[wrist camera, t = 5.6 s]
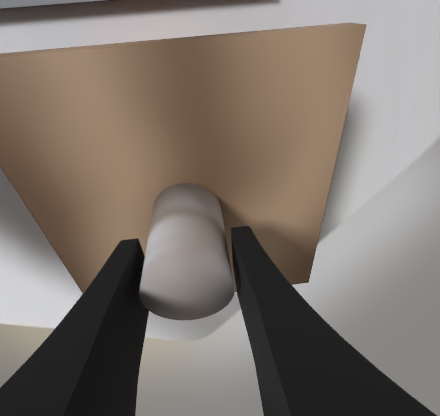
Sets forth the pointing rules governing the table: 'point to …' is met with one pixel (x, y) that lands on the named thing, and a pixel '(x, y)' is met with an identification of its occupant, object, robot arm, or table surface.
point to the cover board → (180, 152)
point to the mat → (37, 2)
